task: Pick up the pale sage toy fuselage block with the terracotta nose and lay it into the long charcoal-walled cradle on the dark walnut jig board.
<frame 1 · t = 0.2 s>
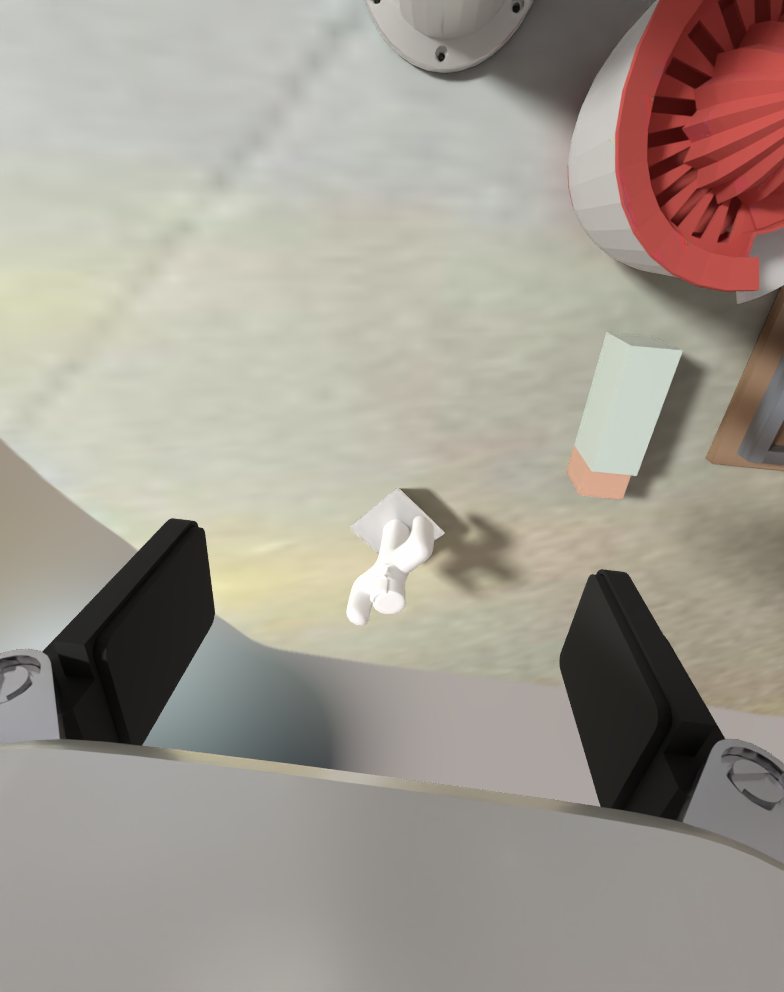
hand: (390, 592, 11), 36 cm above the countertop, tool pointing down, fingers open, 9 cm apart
fuselage: (606, 409, 45), on the countertop
citrus juicer: (651, 170, 36), on the countertop
figurine: (399, 511, 53), on the countertop
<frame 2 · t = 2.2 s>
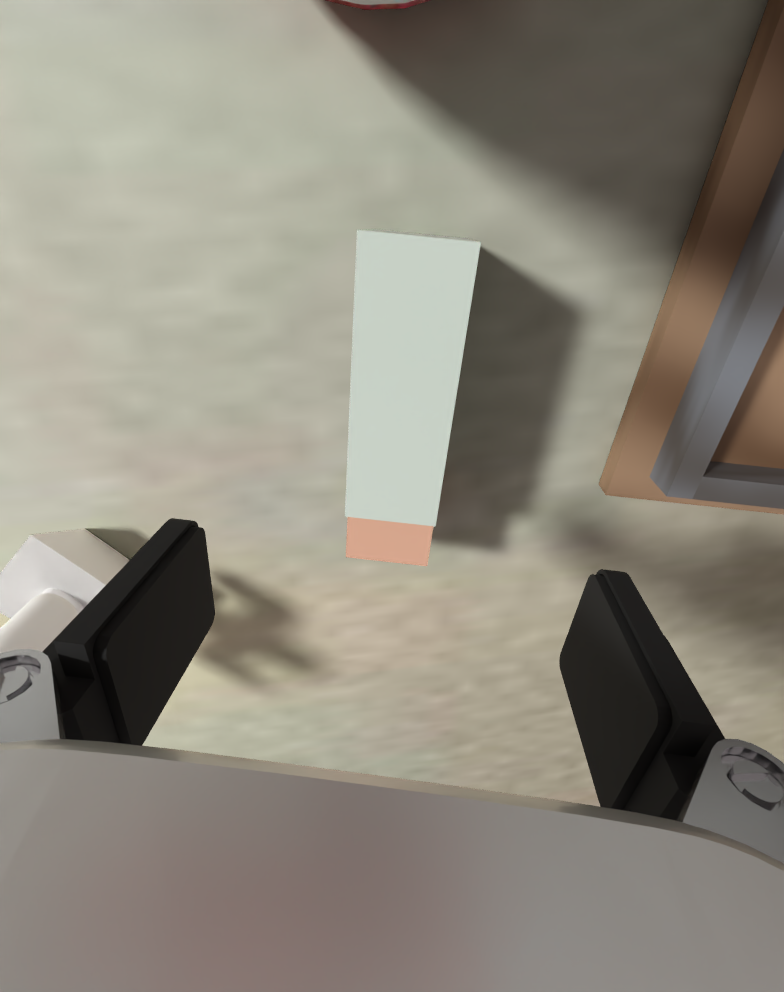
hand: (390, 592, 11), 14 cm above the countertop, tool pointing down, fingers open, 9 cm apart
fuselage: (405, 391, 24), on the countertop
figurine: (100, 565, 31), on the countertop
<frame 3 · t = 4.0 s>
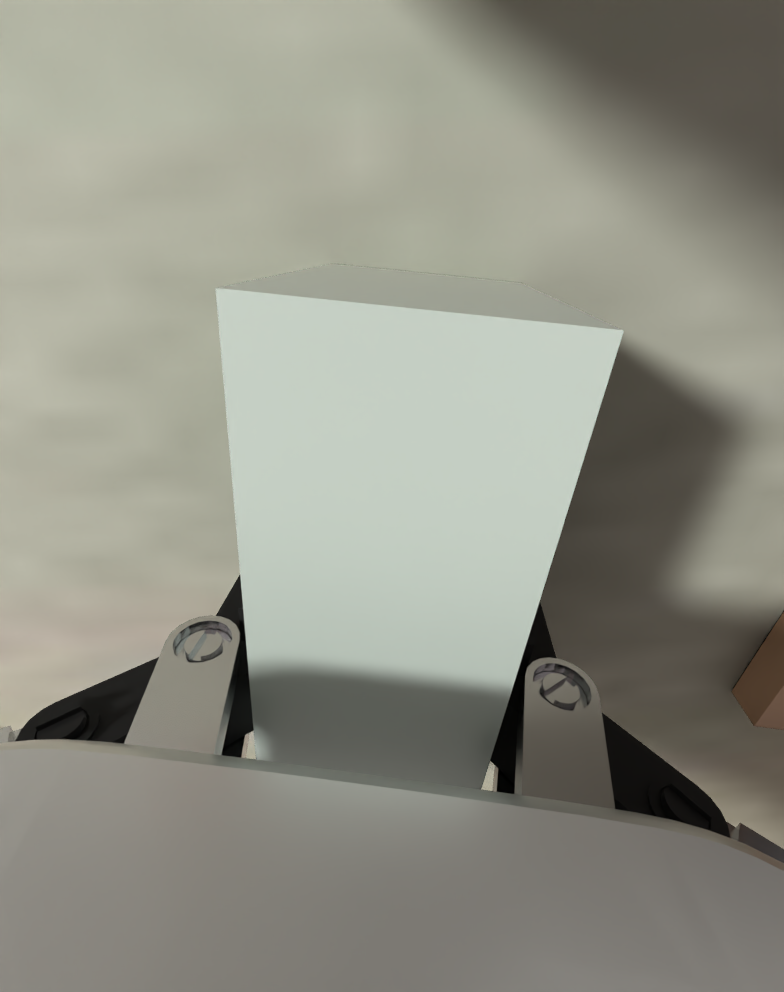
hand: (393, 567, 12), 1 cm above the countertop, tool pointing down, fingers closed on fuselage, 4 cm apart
fuselage: (396, 547, 13), on the countertop, touching gripper
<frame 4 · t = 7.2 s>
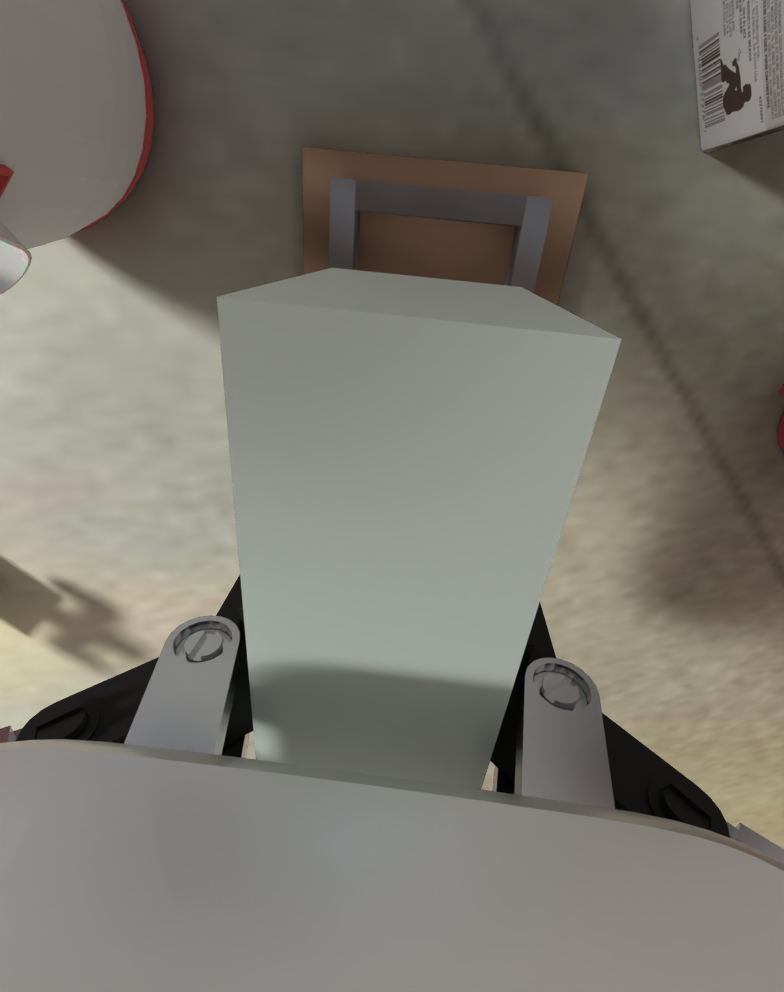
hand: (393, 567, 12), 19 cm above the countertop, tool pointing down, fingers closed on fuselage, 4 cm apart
fuselage: (395, 549, 13), point 18 cm above the countertop, touching gripper
citrus juicer: (60, 105, 24), on the countertop
jig: (419, 377, 29), on the countertop
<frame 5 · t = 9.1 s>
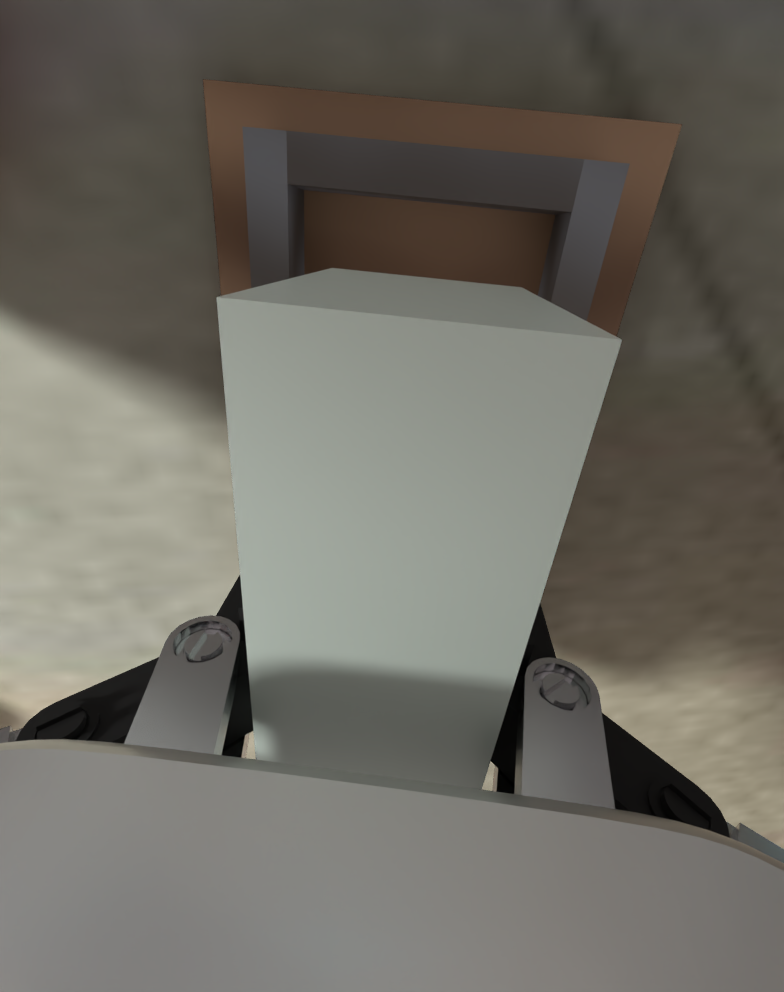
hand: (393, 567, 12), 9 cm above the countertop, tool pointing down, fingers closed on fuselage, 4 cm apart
fuselage: (395, 549, 13), point 8 cm above the countertop, touching gripper
jig: (404, 437, 20), on the countertop
when the fingers open (4 cm above the countertop, at t = 10.4 s): fuselage drops 2 cm, resting on jig.
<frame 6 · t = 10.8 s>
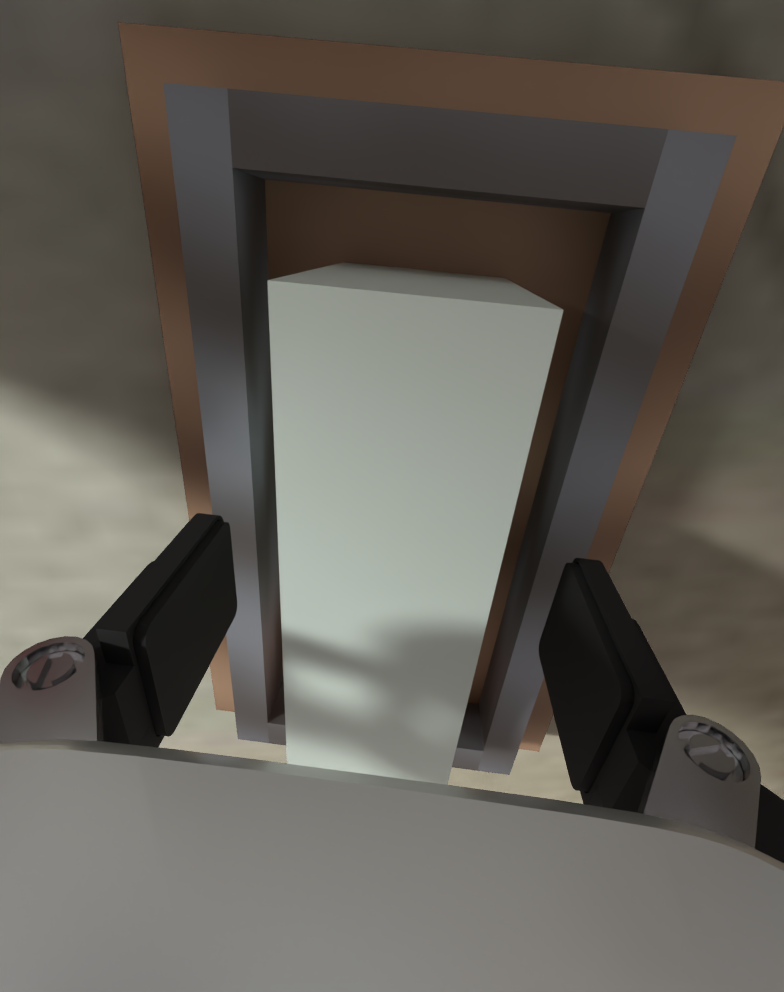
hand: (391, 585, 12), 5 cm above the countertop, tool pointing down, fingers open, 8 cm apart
fuselage: (397, 512, 15), point 1 cm above the countertop, touching jig
jig: (402, 493, 16), on the countertop
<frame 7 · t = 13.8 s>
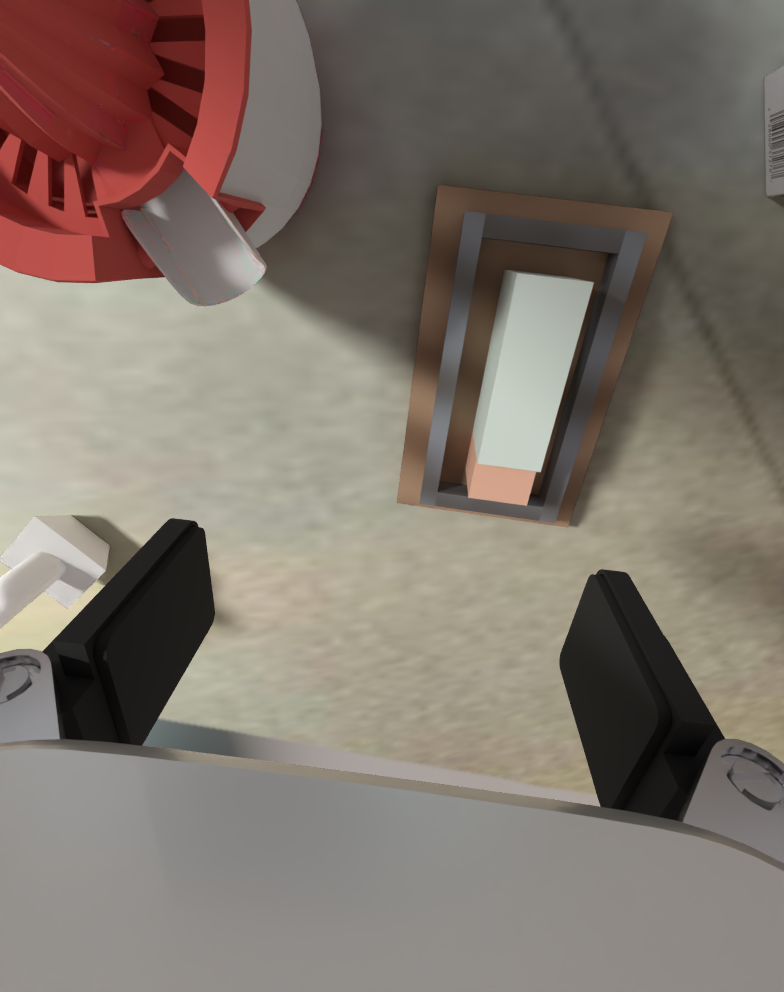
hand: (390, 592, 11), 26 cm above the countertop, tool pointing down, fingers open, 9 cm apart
fuselage: (511, 382, 33), point 1 cm above the countertop, touching jig
citrus juicer: (235, 144, 29), on the countertop
jig: (510, 377, 34), on the countertop
figurine: (81, 541, 46), on the countertop
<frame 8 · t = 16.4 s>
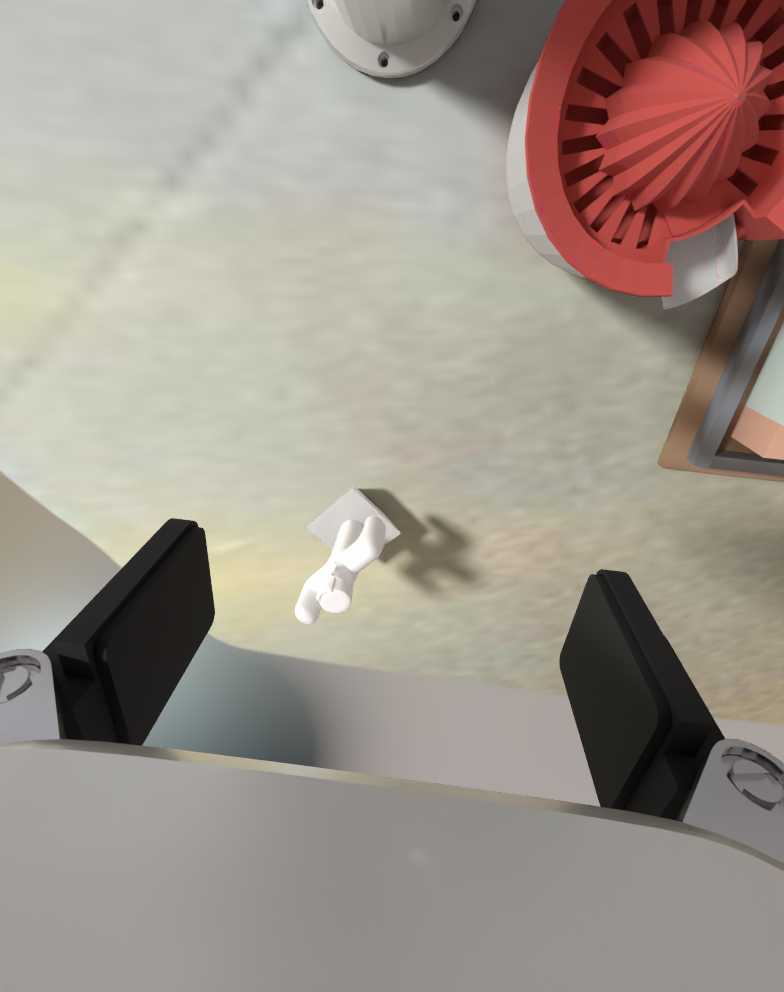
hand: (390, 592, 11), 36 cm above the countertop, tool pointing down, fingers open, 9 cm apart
citrus juicer: (594, 177, 37), on the countertop
jig: (780, 360, 42), on the countertop
figurine: (358, 511, 53), on the countertop
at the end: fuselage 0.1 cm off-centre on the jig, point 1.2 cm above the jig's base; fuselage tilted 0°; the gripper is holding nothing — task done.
